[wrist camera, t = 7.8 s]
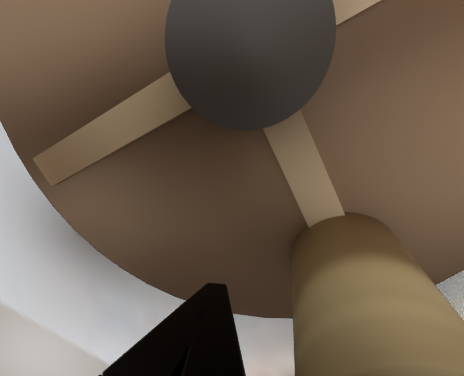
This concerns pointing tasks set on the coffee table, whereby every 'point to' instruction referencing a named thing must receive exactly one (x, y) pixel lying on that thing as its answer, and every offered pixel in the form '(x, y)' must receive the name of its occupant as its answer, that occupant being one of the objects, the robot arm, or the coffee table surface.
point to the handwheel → (260, 158)
